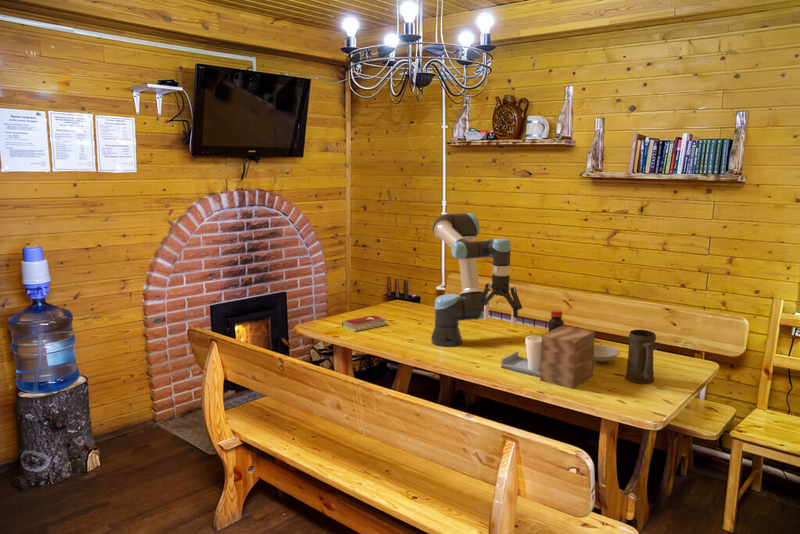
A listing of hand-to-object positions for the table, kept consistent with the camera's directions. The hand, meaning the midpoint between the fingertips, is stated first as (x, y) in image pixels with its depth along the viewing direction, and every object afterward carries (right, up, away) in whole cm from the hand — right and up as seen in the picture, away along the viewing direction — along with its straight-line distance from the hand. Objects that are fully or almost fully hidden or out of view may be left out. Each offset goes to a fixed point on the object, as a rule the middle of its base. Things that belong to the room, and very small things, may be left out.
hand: (499, 321), depth 254 cm
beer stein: (+53, -22, -23) cm, 62 cm away
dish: (+45, -18, +1) cm, 49 cm away
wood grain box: (+24, -21, -18) cm, 37 cm away
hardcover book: (-63, -9, +61) cm, 89 cm away
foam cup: (+14, -19, -9) cm, 25 cm away
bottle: (+28, -16, +13) cm, 35 cm away
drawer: (+12, -19, -7) cm, 24 cm away
